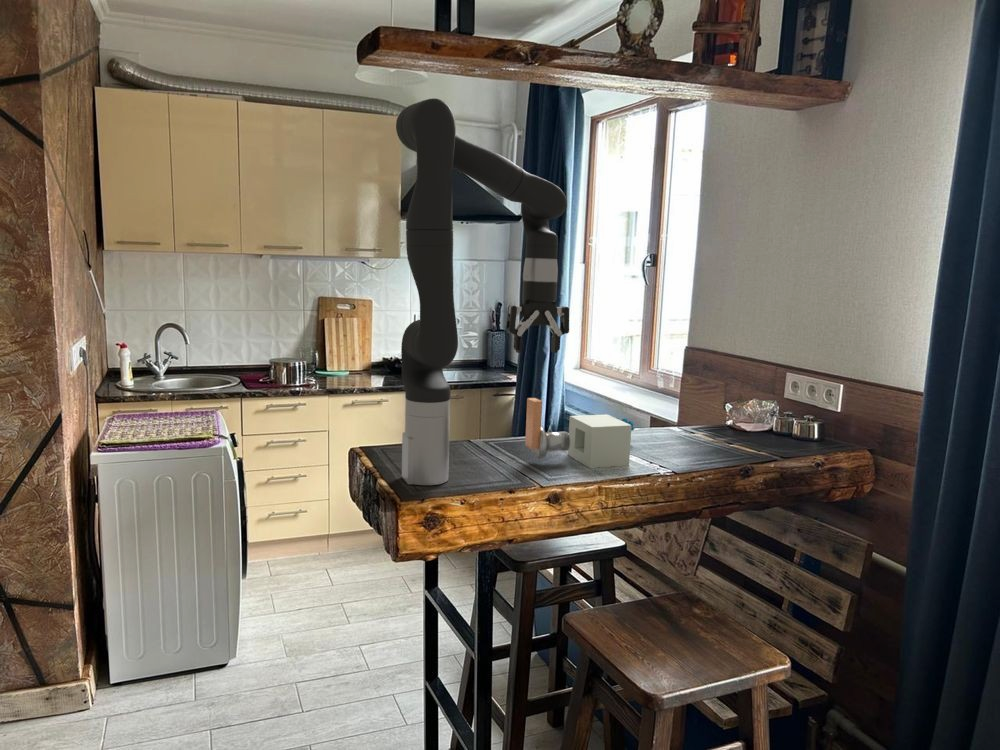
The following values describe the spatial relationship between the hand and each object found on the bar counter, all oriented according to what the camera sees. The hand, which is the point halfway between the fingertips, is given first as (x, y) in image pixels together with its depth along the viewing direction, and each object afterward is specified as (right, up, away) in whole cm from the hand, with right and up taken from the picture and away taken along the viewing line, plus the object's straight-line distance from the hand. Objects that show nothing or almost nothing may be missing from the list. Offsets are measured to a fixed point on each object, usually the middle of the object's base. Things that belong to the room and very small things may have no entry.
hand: (536, 352), depth 165 cm
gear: (+21, -23, +25) cm, 40 cm away
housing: (+15, -25, +10) cm, 31 cm away
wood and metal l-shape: (+3, -24, +5) cm, 25 cm away
